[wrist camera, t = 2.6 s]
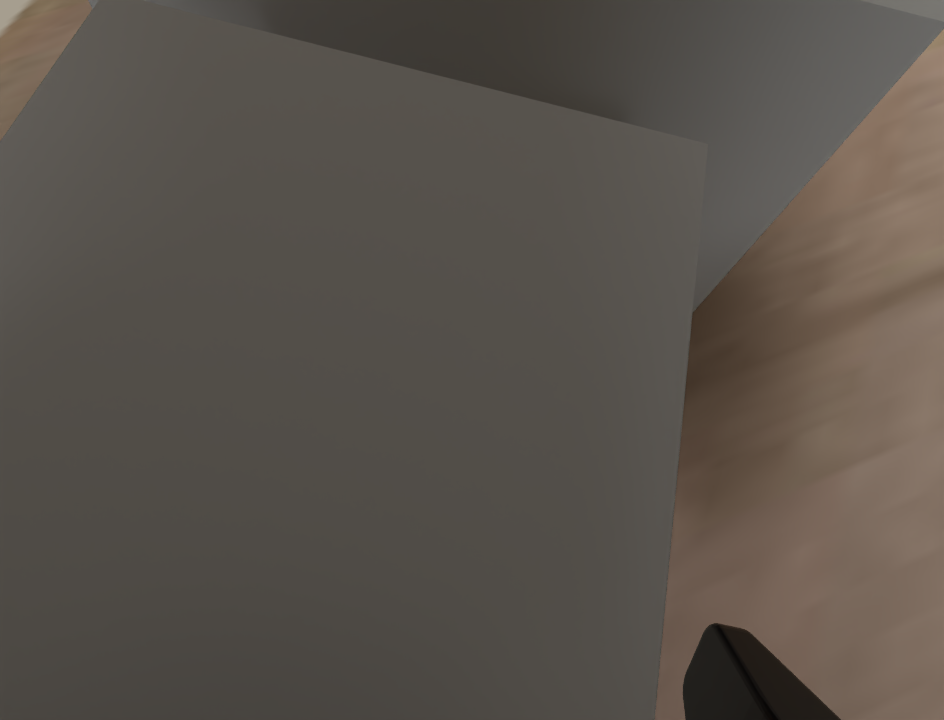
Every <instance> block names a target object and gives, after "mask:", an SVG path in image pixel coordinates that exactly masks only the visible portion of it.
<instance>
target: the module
mask: <svg viewBox="0 0 944 720" xmlns="http://www.w3.org/2000/svg"><path fill="white" fill-rule="evenodd" d="M707 151H708V144H706V143H702V142H699V141H695V140H691V139H687V138H683V137H679V136H675V135H671V134H667V133H663V132H659V131H655V130H651V129H647V128H643V127H639V126H635V125H632V124H628V123H624V122H620V121H616V120H612V119H608V118H604V117H600V116H596V115H592V114H588V113H584V112H580V111H576V110H572V109H569V108H565V107H561V106H557V105H553V104H549V103H545V102H541V101H537V100H533V99H529V98H525V97H521V96H517V95H513V94H509V93H505V92H502V91H498V90H494V89H490V88H486V87H482V86H478V85H474V84H470V83H466V82H462V81H458V80H454V79H450V78H446V77H442V76H438V75H435V74H431V73H427V72H423V71H419V70H415V69H411V68H407V67H403V66H399V65H395V64H391V63H387V62H383V61H379V60H375V59H371V58H368V57H364V56H360V55H356V54H352V53H348V52H344V51H340V50H336V49H332V48H328V47H324V46H320V45H316V44H312V43H308V42H305V41H301V40H297V39H293V38H289V37H285V36H281V35H277V34H273V33H269V32H265V31H261V30H257V29H253V28H249V27H245V26H241V25H238V24H234V23H230V22H226V21H222V20H218V19H214V18H210V17H206V16H202V15H198V14H194V13H190V12H186V11H182V10H178V9H174V8H171V7H167V6H163V5H159V4H155V3H151V2H147V1H143V0H99V1H98V2H97V4H96V5H95V7H94V8H93V9H92V11H91V12H90V14H89V15H88V17H87V18H86V19H85V21H84V22H83V24H82V25H81V27H80V28H79V29H78V31H77V32H76V34H75V35H74V37H73V38H72V39H71V41H70V42H69V44H68V45H67V47H66V48H65V49H64V51H63V52H62V54H61V55H60V57H59V58H58V60H57V61H56V62H55V64H54V65H53V67H52V68H51V70H50V71H49V72H48V74H47V75H46V77H45V78H44V80H43V81H42V82H41V84H40V85H39V87H38V88H37V90H36V91H35V92H34V94H33V95H32V97H31V98H30V100H29V101H28V102H27V104H26V105H25V107H24V108H23V110H22V111H21V112H20V114H19V115H18V117H17V118H16V120H15V121H14V122H13V124H12V125H11V127H10V128H9V130H8V131H7V132H6V134H5V135H4V137H3V138H2V140H1V141H0V720H654V719H655V709H656V698H657V687H658V676H659V666H660V655H661V644H662V634H663V623H664V612H665V601H666V591H667V580H668V569H669V559H670V548H671V537H672V526H673V516H674V505H675V494H676V484H677V473H678V462H679V451H680V441H681V430H682V419H683V409H684V398H685V387H686V376H687V366H688V355H689V344H690V334H691V323H692V312H693V301H694V291H695V280H696V269H697V259H698V248H699V237H700V226H701V216H702V205H703V194H704V184H705V173H706V162H707Z"/></svg>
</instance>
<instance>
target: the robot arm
mask: <svg viewBox="0 0 944 720" xmlns="http://www.w3.org/2000/svg"><path fill="white" fill-rule="evenodd" d="M683 700H684V709H685V718H686V720H841V719H840V718H839V717H838V716H837V715H836V714H835V713H834V712H832V711H831V710H830V709H829V708H828V707H827V706H826V705H825V704H824V703H823V702H822V701H821V700H820V699H819V698H818V697H817V696H816V695H815V694H814V693H813V692H812V691H811V690H810V689H808V688H807V687H806V686H805V685H804V684H803V683H802V682H801V681H800V680H799V679H798V678H797V677H796V676H795V675H794V674H793V673H792V672H791V671H790V670H789V669H788V668H787V667H786V666H784V665H783V664H782V663H781V662H780V661H779V660H778V659H777V658H776V657H775V656H774V655H773V654H772V653H771V652H770V651H769V650H768V649H767V648H766V647H765V646H764V645H763V644H761V643H760V642H759V641H758V640H757V639H756V638H755V637H754V636H753V635H752V634H751V633H750V632H748V631H747V630H745V629H742V628H737V627H732V626H728V625H723V624H718V623H714V624H711V625H709V626H708V627H707V628H706V630H705V631H704V633H703V635H702V637H701V640H700V642H699V644H698V647H697V649H696V651H695V653H694V656H693V658H692V660H691V663H690V665H689V667H688V669H687V672H686V675H685V678H684V684H683Z"/></svg>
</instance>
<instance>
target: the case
mask: <svg viewBox="0 0 944 720" xmlns="http://www.w3.org/2000/svg"><path fill="white" fill-rule="evenodd" d="M88 1H89V3H90V5H91V7H92V9H93V8H94V7H95V5H96V4H97V2H98V1H99V0H88ZM143 1H147V2H151V3H155V4H159V5H163V6H167V7H171V8H174V9H178V10H182V11H186V12H190V13H194V14H198V15H202V16H206V17H210V18H214V19H218V20H222V21H226V22H230V23H234V24H238V25H241V26H245V27H249V28H253V29H257V30H261V31H265V32H269V33H273V34H277V35H281V36H285V37H289V38H293V39H297V40H301V41H305V42H308V43H312V44H316V45H320V46H324V47H328V48H332V49H336V50H340V51H344V52H348V53H352V54H356V55H360V56H364V57H368V58H371V59H375V60H379V61H383V62H387V63H391V64H395V65H399V66H403V67H407V68H411V69H415V70H419V71H423V72H427V73H431V74H435V75H438V76H442V77H446V78H450V79H454V80H458V81H462V82H466V83H470V84H474V85H478V86H482V87H486V88H490V89H494V90H498V91H502V92H505V93H509V94H513V95H517V96H521V97H525V98H529V99H533V100H537V101H541V102H545V103H549V104H553V105H557V106H561V107H565V108H569V109H572V110H576V111H580V112H584V113H588V114H592V115H596V116H600V117H604V118H608V119H612V120H616V121H620V122H624V123H628V124H632V125H635V126H639V127H643V128H647V129H651V130H655V131H659V132H663V133H667V134H671V135H675V136H679V137H683V138H687V139H691V140H695V141H699V142H702V143H706V144H708V151H707V162H706V173H705V184H704V194H703V205H702V216H701V226H700V237H699V248H698V259H697V269H696V280H695V291H694V301H693V312H694V311H695V309H696V308H697V307H698V306H699V305H700V304H701V303H702V302H703V300H704V299H705V298H706V297H707V296H708V295H709V294H710V293H711V291H712V290H713V289H714V288H715V287H716V286H717V285H718V283H719V282H720V281H721V280H722V279H723V278H724V277H725V276H726V274H727V273H728V272H729V271H730V270H731V269H732V268H733V267H734V265H735V264H736V263H737V262H738V261H739V260H740V259H741V257H742V256H743V255H744V254H745V253H746V252H747V251H748V250H749V248H750V247H751V246H752V245H753V244H754V243H755V242H756V240H757V239H758V238H759V237H760V236H761V235H762V234H763V233H764V231H765V230H766V229H767V228H768V227H769V226H770V225H771V224H772V222H773V221H774V220H775V219H776V218H777V217H778V216H779V214H780V213H781V212H782V211H783V210H784V209H785V208H786V207H787V205H788V204H789V203H790V202H791V201H792V200H793V199H794V198H795V196H796V195H797V194H798V193H799V192H800V191H801V190H802V188H803V187H804V186H805V185H806V184H807V183H808V182H809V181H810V179H811V178H812V177H813V176H814V175H815V174H816V173H817V171H818V170H819V169H820V168H821V167H822V166H823V165H824V164H825V162H826V161H827V160H828V159H829V158H830V157H831V156H832V155H833V153H834V152H835V151H836V150H837V149H838V148H839V147H840V145H841V144H842V143H843V142H844V141H845V140H846V139H847V138H848V136H849V135H850V134H851V133H852V132H853V131H854V130H855V129H856V127H857V126H858V125H859V124H860V123H861V122H862V121H863V119H864V118H865V117H866V116H867V115H868V114H869V113H870V112H871V110H872V109H873V108H874V107H875V106H876V105H877V104H878V102H879V101H880V100H881V99H882V98H883V97H884V96H885V95H886V93H887V92H888V91H889V90H890V89H891V88H892V87H893V86H894V84H895V83H896V82H897V81H898V80H899V79H900V78H901V76H902V75H903V74H904V73H905V72H906V71H907V70H908V69H909V67H910V66H911V65H912V64H913V63H914V62H915V61H916V59H917V58H918V57H919V56H920V55H921V54H922V53H923V52H924V50H925V49H926V48H927V47H928V46H929V45H930V44H931V43H932V41H933V40H934V39H935V38H936V37H937V36H938V35H939V33H940V32H941V31H942V30H943V29H944V0H143ZM693 312H692V313H693Z"/></svg>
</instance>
